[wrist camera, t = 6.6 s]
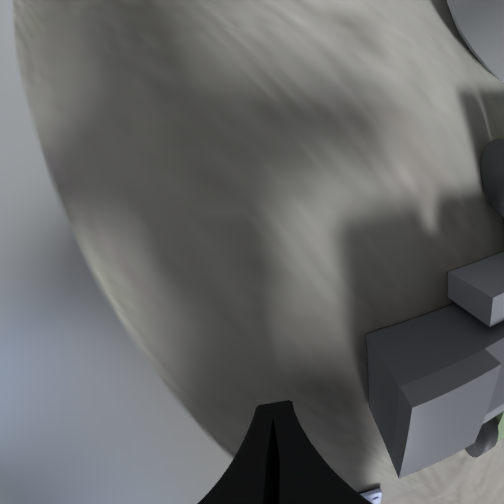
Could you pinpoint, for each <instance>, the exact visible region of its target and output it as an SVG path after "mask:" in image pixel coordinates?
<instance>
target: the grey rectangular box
mask: <svg viewBox="0 0 504 504" xmlns="http://www.w3.org/2000/svg"><path fill="white" fill-rule="evenodd" d="M366 341H367V357H368V380H369V408H370V410H371V412H372V415H373V417H374V419H375V422H376V424H377V426H378V429H379V431H380V434H381V436H382V438H383V441H384V443H385V446H386V448H387V450H388V453H389V455H390V458H391V460H392V463H393V465H394V468H395V470H396V473H397V475H398V478H401V477H404V476H406V475H409V474H411V473H414V472H416V471H419V470H421V469H423V468H426V467H428V466H430V465H432V464H435V463H437V462H439V461H441V460H443V459H445V458H447V457H449V456H451V455H453V454H455V453H457V452H459V451H461V450H463V449H464V448H466V447H468V446H470V445H472V444H473V443H475V441H476V438H477V436H478V433H479V431H480V429H481V426H482V424H483V421H484V418H485V416H486V414H488V413H490V412H491V411H493V410H495V409H496V408H498V407H499V406H501V405H502V404H504V320H503V321H501V322H499V323H497V324H495V325H493V326H491V327H488V326H487V325H486V324H484V323H483V322H482V321H480V320H479V319H478V318H476V317H475V316H474V315H472V314H471V313H469V312H468V311H467V310H465V309H464V308H462V307H461V306H460V305H458V304H457V303H455V304H452V305H450V306H447V307H445V308H442V309H439V310H437V311H434V312H431V313H428V314H426V315H423V316H420V317H417V318H414V319H411V320H409V321H406V322H403V323H400V324H396V325H393V326H390V327H387V328H384V329H381V330H377V331H374V332H371V333H367V334H366Z"/></svg>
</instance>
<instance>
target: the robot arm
mask: <svg viewBox="0 0 504 504" xmlns="http://www.w3.org/2000/svg"><path fill="white" fill-rule="evenodd" d="M381 498H382V490H381V489H375V490H372V491H368V492H365V493H361V494H359V493H357V492H356V491H355V490H354V489H352V488H351V487H350V486H349V485H348V484H347V483H346V482H345V481H344V480H342V479H341V478H340V477H339V476H338V475H337V474H336V473H335V472H334V471H333V470H332V469H331V468H330V466H329V465H328V464H327V463H326V462H325V461H324V460H323V458H322V457H321V456H320V454H319V453H318V452H317V451H316V449H315V448H314V446H313V445H312V444H311V442H310V440H309V439H308V437H307V436H306V434H305V432H304V431H303V429H302V427H301V425H300V423H299V421H298V419H297V417H296V414H295V412H294V408H293V403H292V401H290V400H287V401H282V402H276V403H270V404H264V405H258V406H257V407H256V410H255V414H254V417H253V420H252V422H251V425H250V427H249V430H248V432H247V434H246V436H245V438H244V441H243V443H242V445H241V447H240V449H239V450H238V452H237V454H236V456H235V457H234V459H233V461H232V462H231V464H230V465H229V467H228V469H227V470H226V472H225V473H224V474H223V476H222V477H221V478H220V480H219V481H218V482H217V483H216V485H215V486H214V487H213V488H212V489H211V491H210V492H209V493H208V494H207V495H206V496H205V497H204V498H203V499H202V500H201V501H200V502H199V503H198V504H380V502H381Z"/></svg>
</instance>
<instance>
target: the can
mask: <svg viewBox="0 0 504 504" xmlns="http://www.w3.org/2000/svg"><path fill="white" fill-rule="evenodd" d="M447 3H448V6H449V9H450V11H451V15H452V19H453V21H454V23H455V25H456V27H457V29H458V31H459V33H460V35H461V37H462V38H463V40H464V41H465V43H466V44H467V46H468V47H469V49H470V50H471V52H472V53H473V54H474V55H475V56H476V58H477V59H478V60H479V61H480V62H481V64H482V65H483V66H484V67H485V68H486V69H487V70H488V71H490V72H491V73H492V74H493V75H494V76H495V77H496V78H498V79H500V80H501V81H502V82H503V83H504V0H447Z"/></svg>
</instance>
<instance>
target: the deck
mask: <svg viewBox="0 0 504 504" xmlns="http://www.w3.org/2000/svg"><path fill="white" fill-rule="evenodd" d="M481 177H482V183H483V187H484V190H485V193H486V195H487V198H488V200H489V201H490V203H491V205H492V206H493V208H494V209H495V210H496V211H497V212H498V213H499V214H500V215H502V216H504V139H496V140H493V141H492V142H490V143H489V144H488V145H487V147H486V148H485V150H484V152H483V155H482V160H481ZM448 298H450V299H451V300H452V301H454V302H455V303H457V304H458V305H460V306H461V307H462V308H464V309H465V310H467V311H468V312H469V313H471V314H472V315H474V316H475V317H476V318H478V319H479V320H480V321H482V322H483V323H484V324H486V325H487V326H488V327H491V326H493V325H495V324H497V323H499V322H501V321H503V320H504V251H503V252H501V253H498V254H496V255H493V256H490V257H488V258H485V259H483V260H480V261H477V262H474V263H472V264H469V265H466V266H463V267H461V268H458V269H455V270H452V271H449V272H448ZM502 438H504V404H502V405H501V406H499V407H498V408H496V409H495V410H493V411H491V412H490V413H488V414H486V416H485V418H484V421H483V424H482V426H481V429H480V431H479V433H478V436H477V438H476V441H475V443H473V444H472V445H470V446H468V447H466V448H465V450H466V451H467V453H468V454H469V455H470V456H472V457H478V456H480V455H482V454H483V453H485V452H487V451H488V450H490V449H491V448H493V447H494V446H495V445H496V443H497V442H498V441H499V440H501V439H502Z"/></svg>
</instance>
